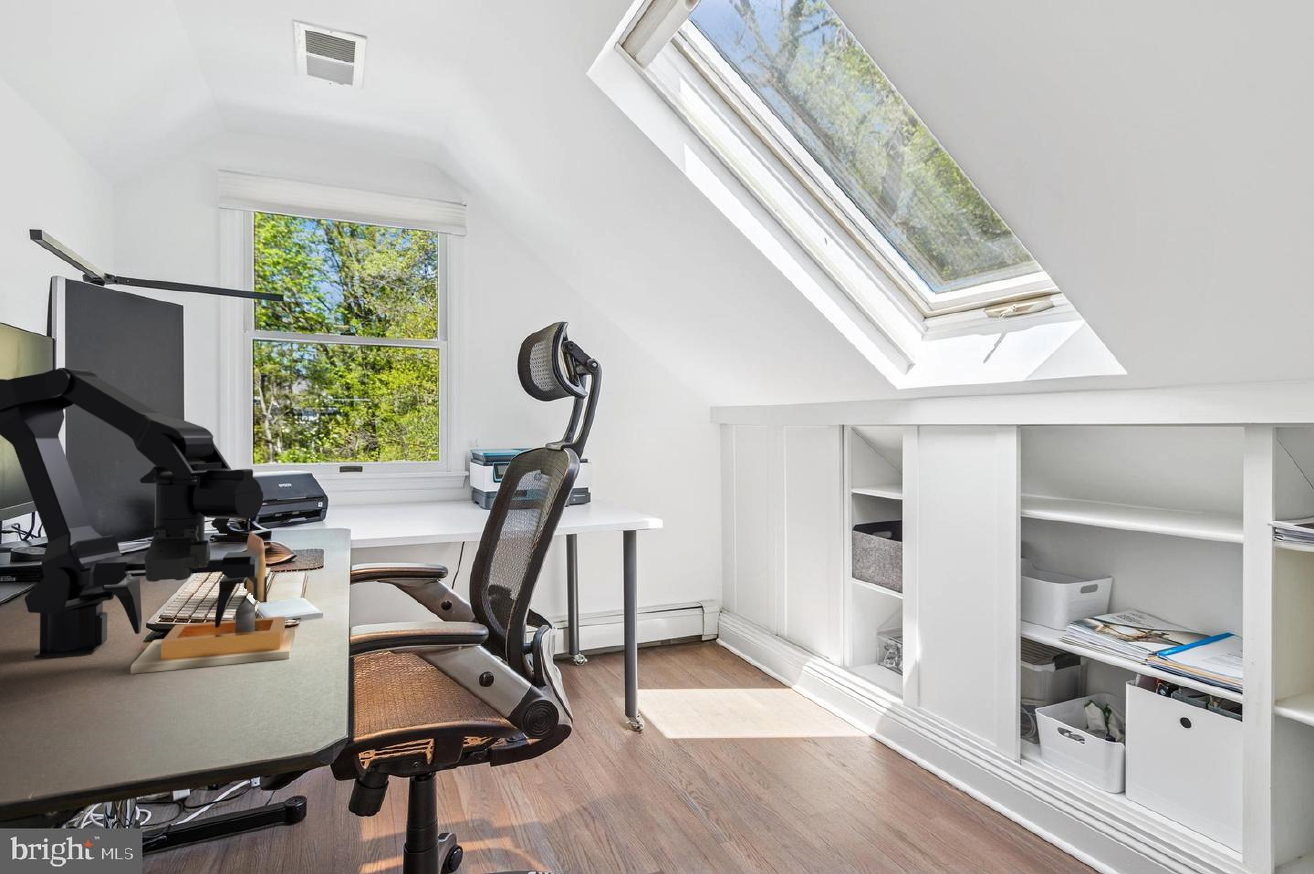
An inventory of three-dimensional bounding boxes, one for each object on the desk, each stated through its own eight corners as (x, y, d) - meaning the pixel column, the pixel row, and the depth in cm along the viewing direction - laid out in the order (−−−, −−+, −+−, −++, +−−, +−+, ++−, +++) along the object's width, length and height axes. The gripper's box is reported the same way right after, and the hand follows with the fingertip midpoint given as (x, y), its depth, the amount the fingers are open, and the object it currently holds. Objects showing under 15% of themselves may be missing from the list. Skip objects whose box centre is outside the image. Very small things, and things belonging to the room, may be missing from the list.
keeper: (130, 673, 91) (131, 621, 91) (153, 646, 102) (154, 600, 102) (289, 658, 98) (289, 609, 98) (294, 634, 109) (295, 591, 109)
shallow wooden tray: (160, 660, 93) (161, 641, 93) (175, 641, 101) (175, 624, 101) (279, 649, 99) (280, 631, 99) (284, 632, 107) (284, 616, 107)
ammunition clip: (266, 605, 126) (267, 538, 126) (255, 607, 125) (256, 539, 125) (254, 594, 134) (255, 531, 134) (243, 595, 133) (244, 531, 133)
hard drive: (253, 603, 123) (268, 618, 114) (304, 597, 129) (323, 611, 119) (252, 613, 123) (268, 629, 114) (304, 606, 129) (323, 620, 119)
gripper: (75, 526, 86) (73, 654, 87) (250, 522, 94) (249, 639, 94) (103, 516, 97) (102, 630, 97) (260, 512, 104) (258, 618, 104)
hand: (178, 630), depth 98 cm, fingers open, 9 cm apart
